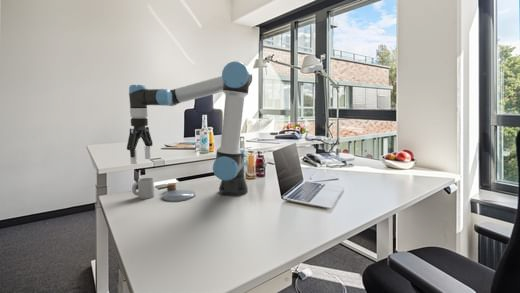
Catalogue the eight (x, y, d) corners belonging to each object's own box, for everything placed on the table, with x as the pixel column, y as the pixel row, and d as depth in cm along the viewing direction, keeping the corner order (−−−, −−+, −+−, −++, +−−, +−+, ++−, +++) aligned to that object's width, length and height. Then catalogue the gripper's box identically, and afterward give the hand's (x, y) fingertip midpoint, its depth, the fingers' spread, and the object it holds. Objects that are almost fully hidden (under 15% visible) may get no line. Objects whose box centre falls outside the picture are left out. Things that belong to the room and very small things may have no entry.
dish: (199, 192, 150) (199, 189, 150) (189, 201, 134) (188, 199, 134) (170, 191, 151) (169, 189, 151) (156, 200, 135) (156, 198, 135)
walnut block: (176, 190, 154) (175, 183, 153) (175, 192, 150) (174, 185, 149) (168, 190, 153) (168, 183, 152) (167, 192, 149) (167, 185, 148)
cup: (154, 198, 140) (153, 180, 139) (132, 200, 136) (131, 182, 135) (153, 194, 146) (153, 177, 145) (132, 196, 143) (131, 179, 141)
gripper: (144, 117, 149) (146, 156, 152) (116, 118, 124) (119, 166, 127) (158, 117, 148) (159, 157, 151) (132, 118, 123) (135, 166, 126)
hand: (141, 161), depth 139 cm, fingers open, 13 cm apart
